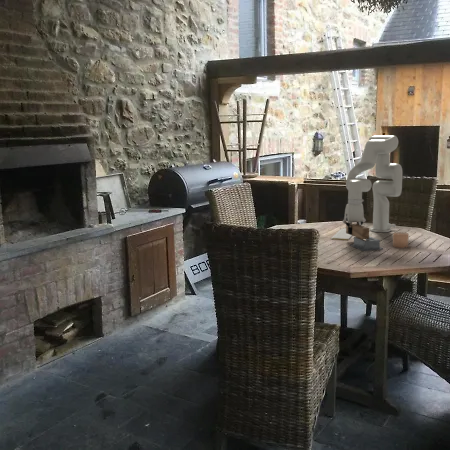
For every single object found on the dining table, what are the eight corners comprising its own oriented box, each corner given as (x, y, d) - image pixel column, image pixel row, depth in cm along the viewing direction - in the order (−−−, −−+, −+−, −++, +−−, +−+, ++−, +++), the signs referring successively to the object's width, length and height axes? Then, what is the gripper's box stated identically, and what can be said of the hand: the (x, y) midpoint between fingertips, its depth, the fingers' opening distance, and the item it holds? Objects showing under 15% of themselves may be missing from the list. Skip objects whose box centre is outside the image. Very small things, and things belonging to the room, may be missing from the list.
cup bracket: (369, 243, 292) (369, 235, 291) (382, 249, 278) (383, 240, 278) (350, 245, 289) (350, 236, 288) (363, 251, 275) (363, 241, 274)
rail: (352, 232, 302) (352, 222, 301) (369, 238, 282) (369, 228, 281) (346, 233, 301) (346, 223, 300) (362, 239, 281) (362, 228, 280)
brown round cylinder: (402, 244, 290) (402, 231, 289) (411, 247, 282) (411, 234, 281) (389, 245, 288) (390, 232, 287) (398, 248, 280) (398, 235, 279)
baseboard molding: (328, 239, 307) (348, 241, 302) (328, 235, 306) (348, 236, 302) (338, 230, 335) (357, 231, 330) (338, 225, 334) (357, 226, 329)
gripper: (364, 200, 298) (363, 231, 301) (338, 201, 293) (337, 233, 297) (371, 201, 291) (370, 233, 294) (344, 203, 286) (343, 235, 290)
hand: (353, 233), depth 295 cm, fingers closed on rail, 4 cm apart
